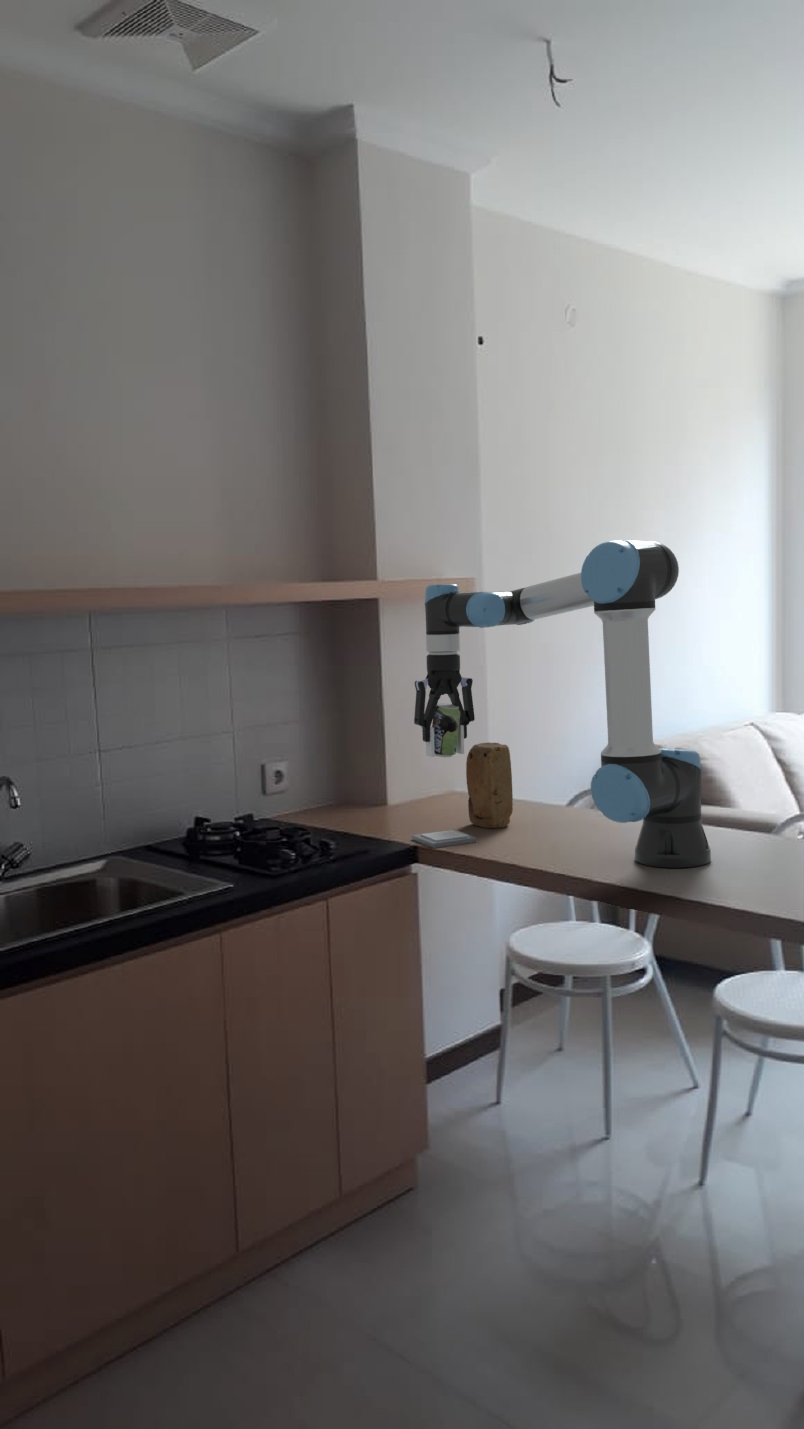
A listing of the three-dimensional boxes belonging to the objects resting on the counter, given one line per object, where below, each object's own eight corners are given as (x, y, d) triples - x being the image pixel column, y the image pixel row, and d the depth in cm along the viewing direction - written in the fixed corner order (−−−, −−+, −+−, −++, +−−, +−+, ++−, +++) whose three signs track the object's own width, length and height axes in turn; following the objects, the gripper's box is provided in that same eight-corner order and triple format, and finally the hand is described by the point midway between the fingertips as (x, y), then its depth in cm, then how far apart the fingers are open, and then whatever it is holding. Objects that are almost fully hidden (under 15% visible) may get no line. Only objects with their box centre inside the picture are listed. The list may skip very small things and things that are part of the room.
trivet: (476, 841, 256) (476, 836, 256) (433, 848, 252) (433, 842, 252) (454, 833, 266) (454, 828, 266) (412, 839, 262) (411, 833, 261)
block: (516, 826, 272) (514, 743, 270) (493, 831, 268) (490, 747, 266) (486, 820, 281) (483, 740, 279) (463, 825, 276) (460, 743, 274)
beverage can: (433, 754, 261) (432, 702, 259) (464, 754, 258) (463, 702, 257) (425, 758, 255) (424, 705, 253) (457, 759, 253) (456, 705, 251)
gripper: (473, 650, 261) (475, 749, 264) (396, 654, 253) (398, 756, 256) (489, 651, 255) (491, 752, 257) (410, 656, 247) (413, 760, 249)
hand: (445, 754), depth 257 cm, fingers closed on beverage can, 7 cm apart
